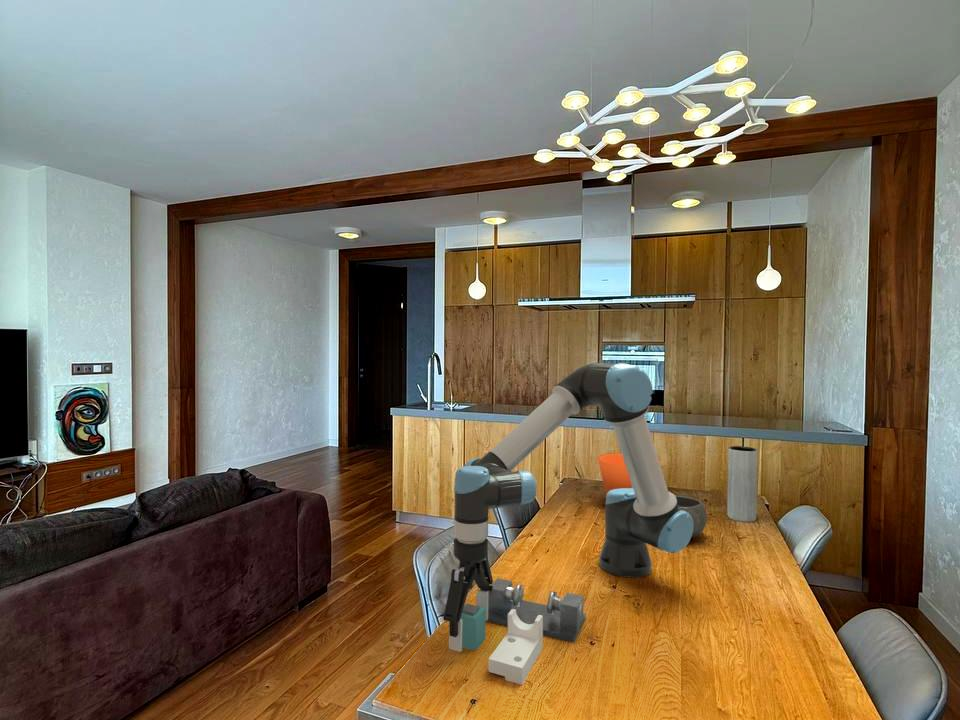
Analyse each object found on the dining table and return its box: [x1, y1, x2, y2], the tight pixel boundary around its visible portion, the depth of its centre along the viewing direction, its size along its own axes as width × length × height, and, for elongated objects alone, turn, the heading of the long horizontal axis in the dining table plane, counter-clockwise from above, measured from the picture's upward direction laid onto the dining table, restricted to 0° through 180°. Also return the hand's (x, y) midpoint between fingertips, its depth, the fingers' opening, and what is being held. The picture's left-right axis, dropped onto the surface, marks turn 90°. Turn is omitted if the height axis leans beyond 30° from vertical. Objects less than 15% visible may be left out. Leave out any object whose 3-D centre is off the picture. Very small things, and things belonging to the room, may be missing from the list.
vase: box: [726, 445, 758, 523], centre depth 198 cm, size 10×10×27 cm
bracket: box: [488, 609, 544, 686], centre depth 106 cm, size 13×7×8 cm, turn 156°
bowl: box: [675, 495, 708, 539], centre depth 179 cm, size 18×18×13 cm
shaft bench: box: [486, 577, 587, 643], centre depth 123 cm, size 22×11×8 cm, turn 66°
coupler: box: [460, 602, 486, 652], centre depth 113 cm, size 5×5×8 cm
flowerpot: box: [597, 452, 661, 496], centre depth 212 cm, size 25×25×20 cm
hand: (469, 633), depth 113 cm, fingers open, 13 cm apart
